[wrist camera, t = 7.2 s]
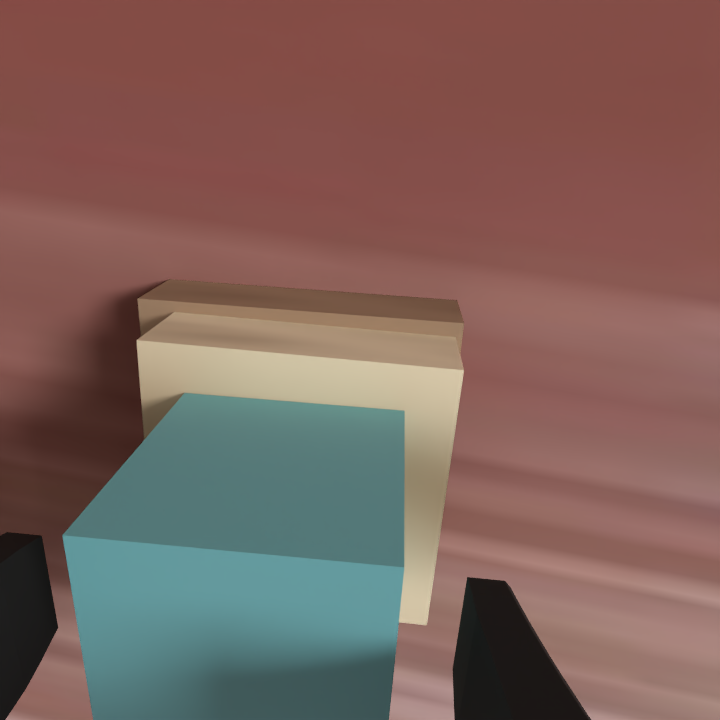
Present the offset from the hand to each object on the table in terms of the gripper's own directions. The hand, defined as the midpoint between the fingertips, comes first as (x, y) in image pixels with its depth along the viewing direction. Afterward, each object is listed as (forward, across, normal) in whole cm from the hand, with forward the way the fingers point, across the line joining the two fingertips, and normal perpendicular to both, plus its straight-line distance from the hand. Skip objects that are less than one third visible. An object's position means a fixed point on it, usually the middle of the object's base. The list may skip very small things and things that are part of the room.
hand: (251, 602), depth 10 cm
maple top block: (+5, 0, 0) cm, 5 cm away
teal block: (+3, 0, 0) cm, 3 cm away
